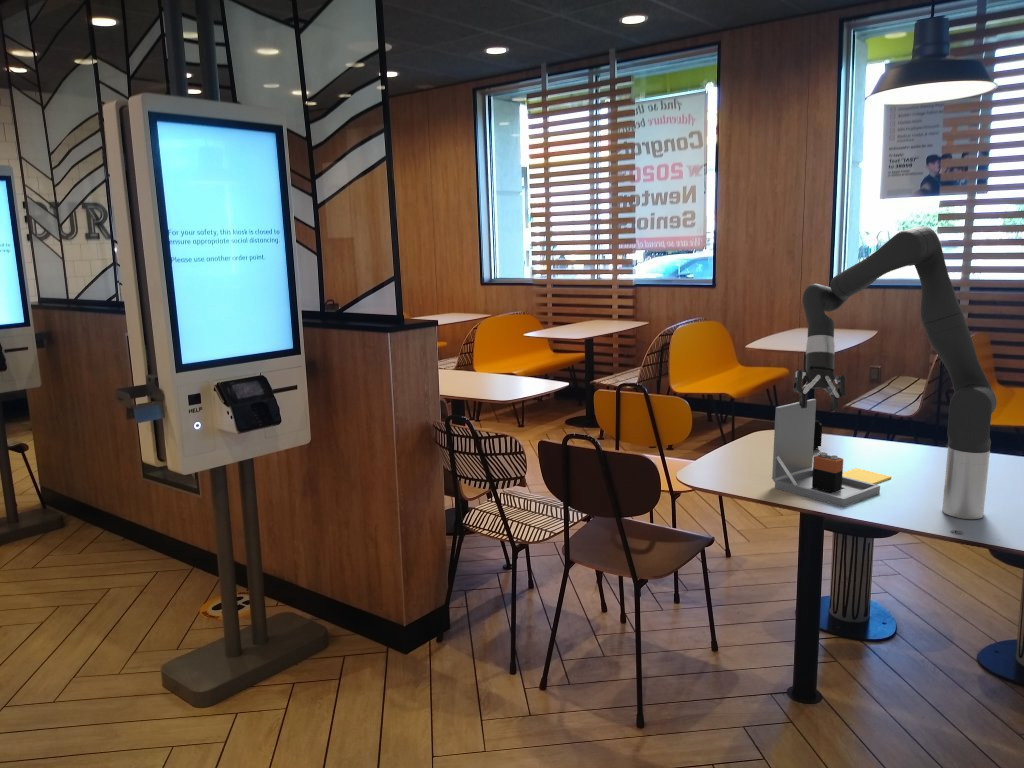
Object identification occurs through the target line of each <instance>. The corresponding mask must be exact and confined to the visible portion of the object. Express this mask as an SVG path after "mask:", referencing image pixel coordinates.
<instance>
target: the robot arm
mask: <svg viewBox="0 0 1024 768" xmlns="http://www.w3.org/2000/svg"><path fill="white" fill-rule="evenodd" d="M910 266H914V268H915V270H916V272H917V275H918V278H919V280H920V287H921V297H920V309H919V310H920V311H919V312H920V319H921V324H922V325H923V329H924V331H925V334H926V337H927V339H928V341H929V343H930V345H931V347H932V348H933V350H934V352H935V353H936V355H937V356H938V357H939V359H940V361H942V363H943V365H944V366H945V368H946V370H947V372H948V374H949V377H950V378H949V379H950V381H951V383H952V387H953V392H954V393H953V395H952V397H951V398H950V401H949V407H948V416H947V417H948V419H947V431H946V433H947V440H948V442H947V454H946V464H945V473H944V474H945V477H944V485H943V487H944V488H943V498H942V509H941V511H942V513H944V514H945V515H948V516H950V517H954V518H957V519H963V520H978V519H982V518H984V513H985V502H986V493H987V487H988V485H987V484H988V474H989V464H990V455H991V444H992V440H991V437H990V434H991V423H992V414H993V413H994V412H995V410H996V408H997V396H996V394H995V392H994V390H993V388H992V386H991V384H990V382H989V380H988V378H987V377H986V374H985V373H984V370H983V369H982V366H981V364H980V362H979V360H978V356H977V353H976V351H977V350H976V349H975V345H974V341H973V338H972V336H971V332H970V329H969V326H968V323H967V321H966V318H965V315H964V313H963V310H962V308H961V305H960V303H959V301H958V297H957V295H956V291H955V290H954V287H953V284H952V281H951V278H950V276H949V272H948V268H947V264H946V261H945V257H944V251H943V249H942V245H941V242H940V239H939V236H938V235H937V233H936V232H935V231H934V230H933V229H932V228H930V227H928V226H924V225H923V226H916V227H911V228H908V229H903V230H901V231H899V232H897V233H896V234H894V236H892V237H891V238H890V239H889V240H888V241H886V242H885V243H884V244H883V245H882V246H880V248H878V249H876V250H875V251H874V252H873V253H872V254H870V255H869V256H867V257H866V258H864V259H862V260H860V261H859V262H857V263H855V264H854V265H851V266H849V267H848V268H847V269H845V270H843V271H841V272H839V273H838V274H837V275H835V276H833V278H831V281H830V282H829V283H830V284H829V286H826V285H823V284H819V283H812V284H809V285H808V286H807V287H806V288H805V289H804V292H803V294H802V307H803V310H804V315H805V318H806V322H807V340H806V344H805V345H806V346H805V347H806V348H805V371H803V370H801V369H800V370H797V371H794V375H793V376H794V377H793V385H792V386H793V387H792V390H793V391H792V392H793V393H797V394H798V395H799V401H798V402H799V404H800V406H801V408H807V400H808V392H809V391H810V390H811V389H815V390H816V389H818V390H825V392H826V393H827V394H828V395H829V397H830V399H829V412H830V413H834V412H836V411H837V410H838V409H839V406H838V405H839V399H840V398H843V397H846V377H845V375H835V373H834V371H835V351H836V350H835V348H836V347H835V322H834V320H833V318H831V317H830V316H828V315H827V314H826V313H828V312H829V313H830V312H834V311H836V310H838V309H839V308H840V307H842V306H843V304H845V302H847V300H848V299H849V298H850V297H851V296H854V295H856V294H857V293H860V292H861V291H863V290H865V289H867V288H868V287H869V286H871V285H872V284H873V283H875V282H876V281H877V279H879V278H880V277H883V276H884V275H886V274H887V273H891V272H892V271H896V270H898V269H901V268H906V267H910ZM825 312H826V313H825ZM803 379H805V380H806V383H805V384H804V385H803V386H802V381H803ZM833 382H834V383H835V385H836V386H835V385H834V383H833Z"/></svg>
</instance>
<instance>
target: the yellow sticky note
mask: <svg viewBox="0 0 1024 768" xmlns="http://www.w3.org/2000/svg"><path fill="white" fill-rule="evenodd" d="M842 476H843V477H847V478H851V479H855V480H859V481H863V482H867V483H871V484H875V485H879V484H880V483H883V482H885V481H888V480H891V479H892V476H890V475H886V474H882V473H878V472H874V471H870V470H865V469H861V468H858V467H855V468H852V469H850V470H847V471H843V473H842Z"/></svg>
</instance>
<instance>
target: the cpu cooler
mask: <svg viewBox="0 0 1024 768" xmlns="http://www.w3.org/2000/svg"><path fill="white" fill-rule="evenodd" d="M822 435H823V424H822V422H820V421H819V419H815V429H814V446H813V450H814V449H817V450H819V447H822V441H823V440H822V439H823V438H822V437H823V436H822Z"/></svg>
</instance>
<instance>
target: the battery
mask: <svg viewBox="0 0 1024 768" xmlns="http://www.w3.org/2000/svg"><path fill="white" fill-rule="evenodd" d="M812 467H813V478H812V487H813V488H815V489H816V490H817V489H818V490H820V491H824V492H829V493H834V492H836V491H839V490H842V489H841V488H842V473H843V472H844V471H843V469H844V459H843V457H838V455H833V454H832V455H829V454H828V452H824V451H820V452H818V455H817V454H816V455H815V456H813V463H812Z"/></svg>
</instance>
